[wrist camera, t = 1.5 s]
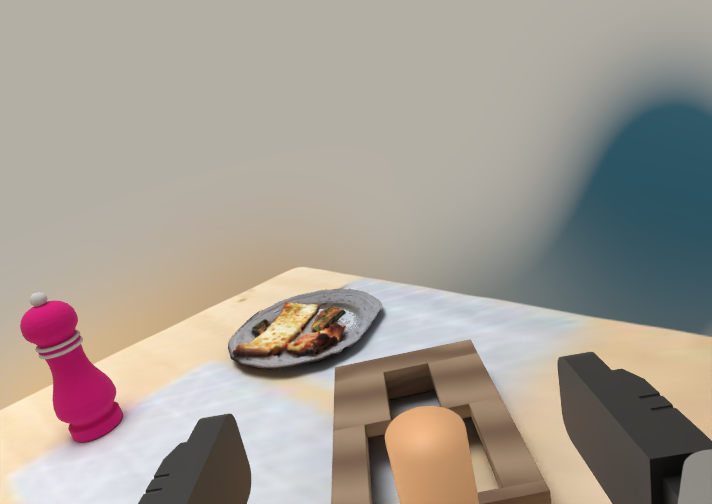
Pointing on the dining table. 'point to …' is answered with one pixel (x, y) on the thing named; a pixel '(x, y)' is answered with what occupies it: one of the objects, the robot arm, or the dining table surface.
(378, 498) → the dining table surface
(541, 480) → the keyhole base
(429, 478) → the peg
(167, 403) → the dining table surface
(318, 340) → the food plate
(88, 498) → the dining table surface
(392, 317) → the dining table surface
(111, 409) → the pepper mill
